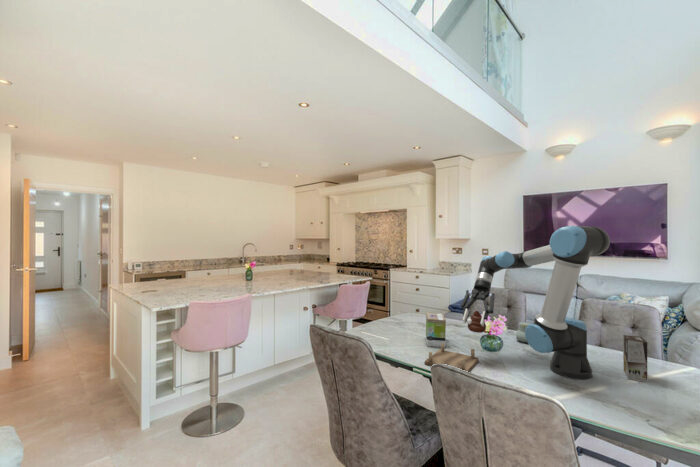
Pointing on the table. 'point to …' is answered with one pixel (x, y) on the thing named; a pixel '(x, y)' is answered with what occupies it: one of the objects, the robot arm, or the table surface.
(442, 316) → the tea box
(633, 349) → the coffee box
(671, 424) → the table surface
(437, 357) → the stand
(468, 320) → the poop emoji
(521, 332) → the air freshener
